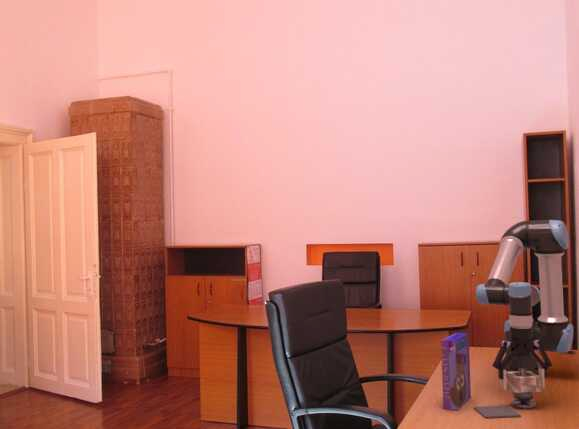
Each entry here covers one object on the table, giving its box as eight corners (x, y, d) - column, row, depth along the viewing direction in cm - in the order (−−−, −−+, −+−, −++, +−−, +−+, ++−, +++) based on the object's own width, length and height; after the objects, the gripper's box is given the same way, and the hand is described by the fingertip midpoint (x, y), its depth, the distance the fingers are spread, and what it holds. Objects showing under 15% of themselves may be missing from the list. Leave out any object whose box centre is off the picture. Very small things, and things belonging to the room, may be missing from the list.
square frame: (530, 384, 217) (529, 370, 217) (541, 391, 208) (541, 377, 208) (505, 385, 217) (504, 371, 217) (515, 392, 208) (515, 378, 208)
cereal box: (456, 411, 209) (454, 341, 209) (443, 409, 211) (441, 340, 212) (470, 398, 223) (468, 332, 224) (458, 396, 226) (455, 331, 226)
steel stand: (529, 402, 216) (528, 365, 217) (540, 408, 208) (538, 370, 209) (507, 403, 216) (506, 366, 216) (517, 409, 208) (516, 371, 208)
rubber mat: (507, 407, 211) (507, 405, 211) (520, 417, 200) (520, 415, 200) (473, 408, 211) (473, 406, 211) (485, 418, 200) (485, 416, 200)
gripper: (550, 324, 217) (552, 383, 217) (482, 326, 216) (484, 386, 215) (561, 327, 210) (563, 389, 209) (490, 329, 208) (492, 391, 208)
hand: (523, 387), depth 212 cm, fingers open, 13 cm apart
